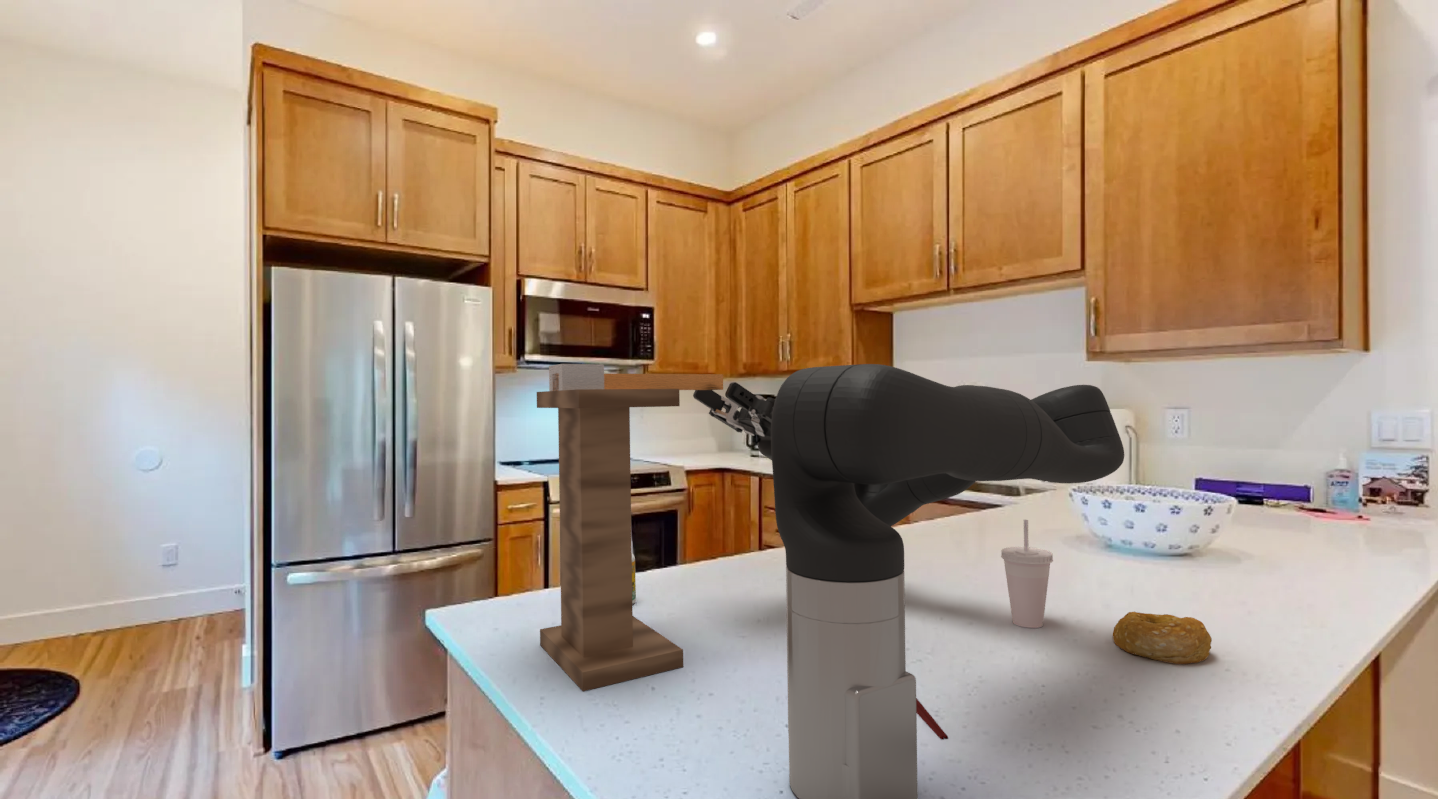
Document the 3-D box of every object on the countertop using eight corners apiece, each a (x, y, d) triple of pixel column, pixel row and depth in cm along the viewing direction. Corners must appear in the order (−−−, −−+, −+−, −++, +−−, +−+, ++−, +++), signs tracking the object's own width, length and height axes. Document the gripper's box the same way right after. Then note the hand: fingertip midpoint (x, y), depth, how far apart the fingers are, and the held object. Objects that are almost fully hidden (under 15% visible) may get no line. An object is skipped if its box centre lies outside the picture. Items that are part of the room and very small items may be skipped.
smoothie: (999, 627, 89) (998, 521, 89) (1004, 613, 95) (1002, 514, 95) (1053, 634, 86) (1052, 525, 86) (1054, 619, 92) (1053, 517, 92)
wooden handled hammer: (728, 389, 87) (728, 366, 87) (562, 390, 76) (562, 363, 76) (709, 390, 92) (708, 368, 92) (549, 391, 80) (549, 366, 80)
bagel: (1205, 642, 83) (1204, 603, 83) (1217, 675, 74) (1216, 632, 74) (1112, 630, 88) (1111, 594, 88) (1112, 660, 79) (1111, 619, 79)
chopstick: (937, 744, 60) (937, 733, 60) (853, 647, 84) (853, 639, 84) (958, 742, 61) (958, 732, 61) (868, 646, 84) (868, 638, 84)
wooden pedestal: (683, 666, 78) (679, 388, 78) (582, 691, 71) (578, 389, 71) (628, 627, 91) (624, 391, 91) (540, 645, 85) (536, 391, 85)
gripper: (778, 421, 103) (698, 367, 96) (841, 423, 91) (753, 361, 84) (759, 465, 101) (675, 413, 94) (819, 473, 89) (728, 414, 82)
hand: (712, 389), depth 89 cm, fingers open, 8 cm apart
